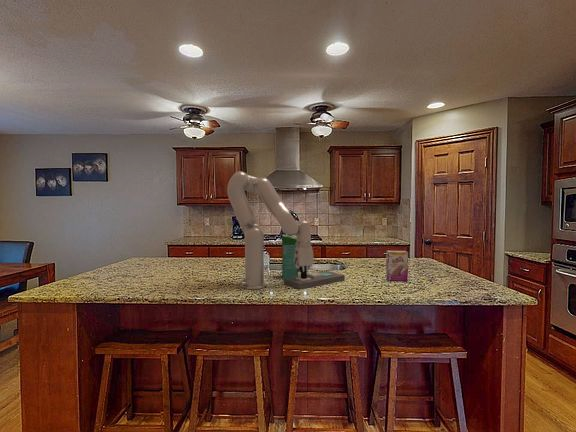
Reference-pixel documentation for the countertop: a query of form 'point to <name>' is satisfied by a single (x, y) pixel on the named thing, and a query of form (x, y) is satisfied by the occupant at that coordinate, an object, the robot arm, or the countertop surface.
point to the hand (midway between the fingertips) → (303, 278)
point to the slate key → (314, 275)
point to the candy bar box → (397, 266)
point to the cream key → (303, 279)
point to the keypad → (314, 281)
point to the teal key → (326, 274)
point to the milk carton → (288, 256)
